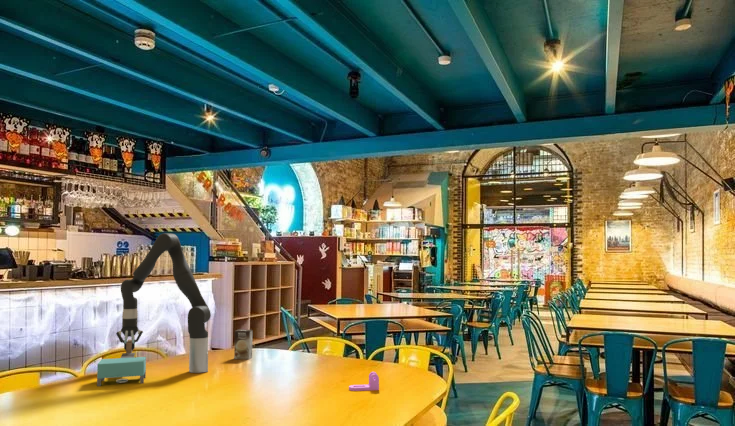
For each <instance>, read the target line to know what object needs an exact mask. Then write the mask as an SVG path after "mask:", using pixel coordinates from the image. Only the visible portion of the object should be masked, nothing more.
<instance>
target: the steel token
mask: <svg viewBox="0 0 735 426" xmlns="http://www.w3.org/2000/svg"><path fill="white" fill-rule="evenodd" d="M115 381H116V383H117V384H125V383H128V381H129V379H128V378H120V379H116V380H115Z"/></svg>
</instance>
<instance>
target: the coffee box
mask: <svg viewBox="0 0 735 426" xmlns="http://www.w3.org/2000/svg"><path fill="white" fill-rule="evenodd" d="M252 358H253V329H241V328H240V329H236V330H234V357H233V359H234V360H250V359H252Z"/></svg>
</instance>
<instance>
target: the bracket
mask: <svg viewBox="0 0 735 426" xmlns="http://www.w3.org/2000/svg"><path fill="white" fill-rule="evenodd" d="M348 390H349V391H351V392H353V391H354V392H356V391H357V392H361V391H379V390H380V377H379V375H378V374H377V372H376V371H371V372H370V373H369V374H368V384H351V385H349V386H348Z"/></svg>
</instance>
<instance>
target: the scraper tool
mask: <svg viewBox="0 0 735 426" xmlns="http://www.w3.org/2000/svg"><path fill="white" fill-rule="evenodd" d="M133 351H134V349H133V350H132V339H131V338H130V339H127V343H126V351H125V352H124V353H123V352H122V353H121V356H120V358H134V357H135V354H136V352H133Z"/></svg>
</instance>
